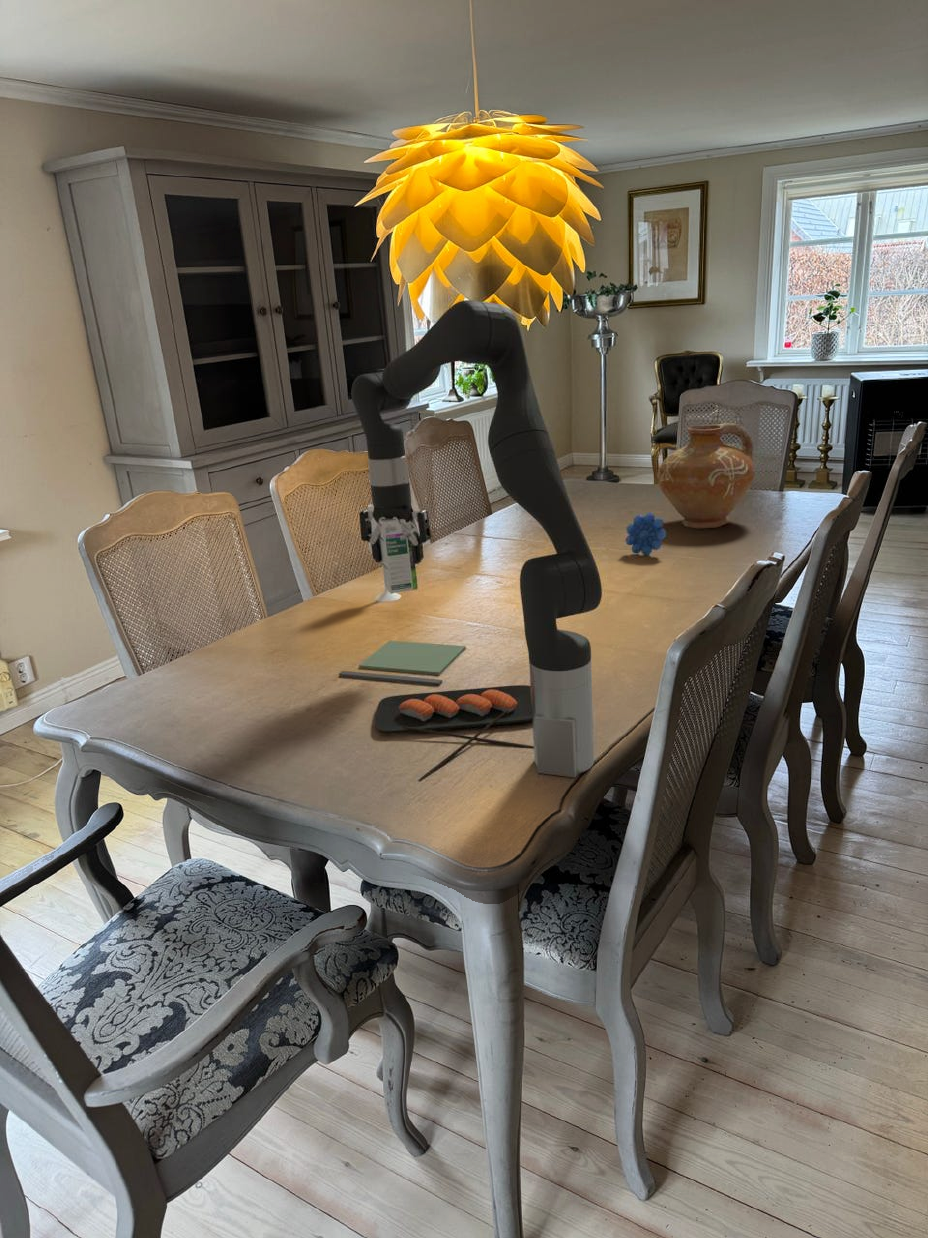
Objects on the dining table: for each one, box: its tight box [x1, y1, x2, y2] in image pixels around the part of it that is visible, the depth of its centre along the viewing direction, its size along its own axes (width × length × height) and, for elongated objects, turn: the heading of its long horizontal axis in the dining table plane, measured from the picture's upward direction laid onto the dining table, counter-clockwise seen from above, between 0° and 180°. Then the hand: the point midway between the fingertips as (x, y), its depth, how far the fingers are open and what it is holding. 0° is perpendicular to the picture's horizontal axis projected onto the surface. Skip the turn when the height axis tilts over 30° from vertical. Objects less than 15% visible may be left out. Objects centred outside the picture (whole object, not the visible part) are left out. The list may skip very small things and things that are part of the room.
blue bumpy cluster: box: [625, 512, 667, 556], centre depth 235 cm, size 12×7×12 cm, turn 56°
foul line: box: [338, 670, 443, 687], centre depth 169 cm, size 2×22×1 cm, turn 68°
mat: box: [358, 640, 467, 676], centre depth 179 cm, size 14×18×1 cm
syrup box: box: [377, 518, 419, 594], centre depth 169 cm, size 6×6×14 cm
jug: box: [656, 422, 755, 530], centre depth 258 cm, size 28×28×30 cm
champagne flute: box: [367, 503, 402, 603], centre depth 215 cm, size 7×7×24 cm
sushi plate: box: [374, 684, 534, 782], centre depth 145 cm, size 29×30×4 cm
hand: (398, 562), depth 170 cm, fingers closed on syrup box, 8 cm apart
